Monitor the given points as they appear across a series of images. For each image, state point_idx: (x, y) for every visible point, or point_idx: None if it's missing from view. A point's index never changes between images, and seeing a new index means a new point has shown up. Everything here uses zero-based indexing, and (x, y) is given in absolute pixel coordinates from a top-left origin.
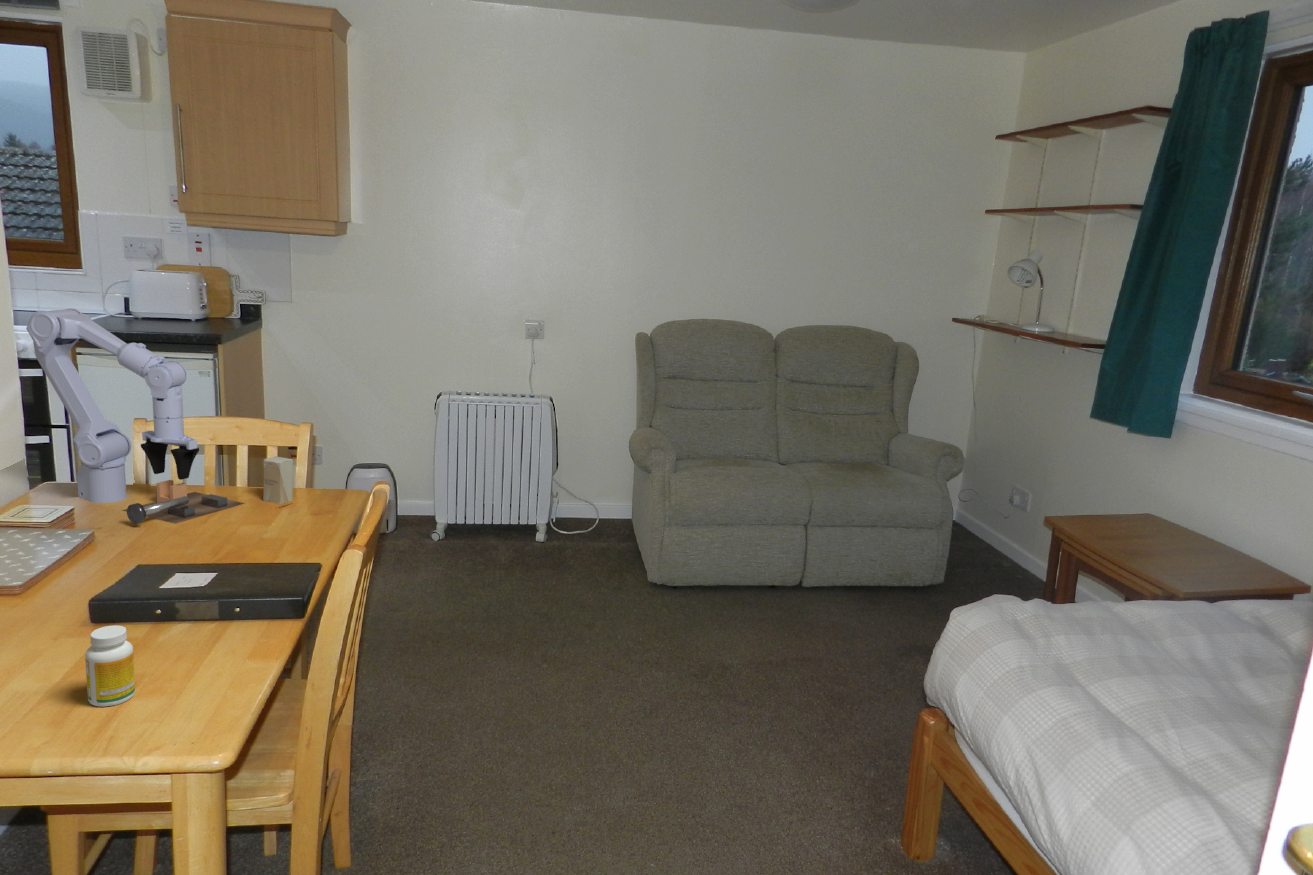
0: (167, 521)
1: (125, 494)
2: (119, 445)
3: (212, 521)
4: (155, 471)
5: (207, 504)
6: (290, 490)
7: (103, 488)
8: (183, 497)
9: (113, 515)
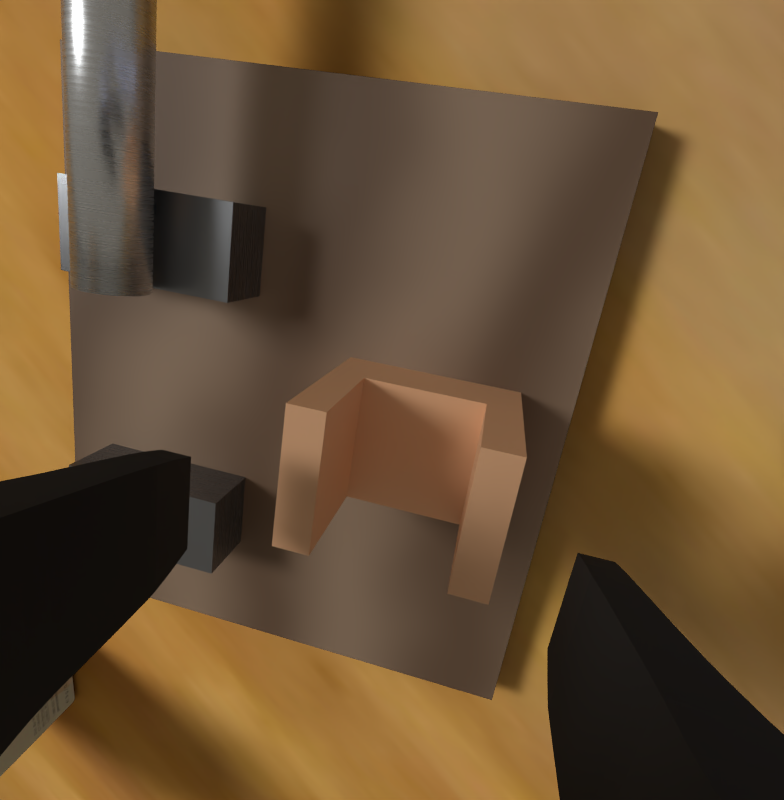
0: None
1: None
2: None
3: (35, 280)
4: (583, 569)
5: (191, 469)
6: None
7: None
8: (72, 251)
9: (707, 69)
